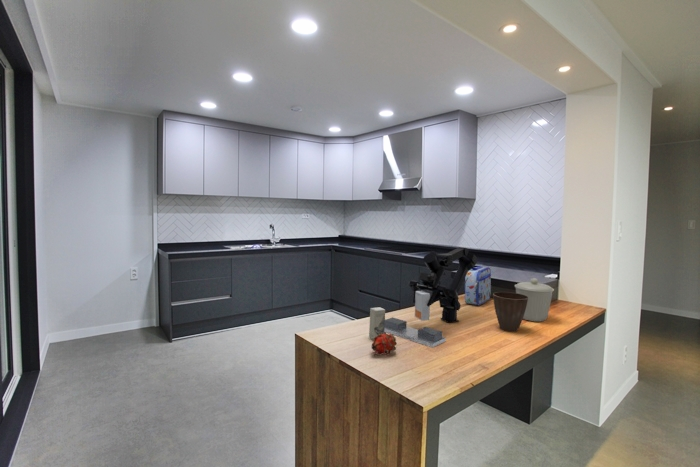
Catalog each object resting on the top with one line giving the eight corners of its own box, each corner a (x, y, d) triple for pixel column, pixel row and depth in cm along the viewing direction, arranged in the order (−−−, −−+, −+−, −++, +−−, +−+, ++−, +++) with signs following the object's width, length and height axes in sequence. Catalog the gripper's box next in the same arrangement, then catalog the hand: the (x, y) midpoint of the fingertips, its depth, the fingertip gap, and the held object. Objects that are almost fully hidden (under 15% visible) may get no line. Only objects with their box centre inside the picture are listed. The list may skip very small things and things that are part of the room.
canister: (543, 326, 171) (546, 283, 170) (506, 317, 185) (508, 277, 184) (557, 319, 183) (560, 279, 182) (521, 311, 197) (523, 273, 195)
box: (374, 341, 147) (374, 310, 147) (368, 337, 151) (369, 307, 150) (384, 339, 150) (385, 309, 149) (379, 336, 154) (380, 306, 153)
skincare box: (414, 317, 162) (415, 291, 161) (422, 316, 164) (423, 290, 163) (421, 321, 157) (422, 294, 156) (429, 320, 158) (430, 293, 157)
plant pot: (484, 326, 170) (486, 293, 169) (505, 322, 177) (506, 290, 176) (512, 336, 157) (514, 300, 156) (533, 331, 164) (535, 297, 163)
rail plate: (393, 325, 168) (394, 316, 168) (445, 341, 149) (446, 330, 149) (380, 330, 161) (380, 320, 161) (432, 347, 142) (433, 336, 142)
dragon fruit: (397, 354, 139) (374, 366, 131) (383, 336, 143) (361, 347, 136) (405, 341, 134) (383, 353, 126) (391, 323, 138) (368, 334, 131)
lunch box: (479, 308, 201) (481, 269, 200) (461, 305, 207) (463, 267, 206) (492, 299, 224) (493, 264, 222) (475, 296, 230) (476, 262, 228)
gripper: (411, 263, 168) (396, 290, 161) (447, 268, 155) (432, 297, 148) (420, 277, 174) (406, 304, 167) (455, 283, 161) (441, 312, 154)
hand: (420, 304), depth 159 cm, fingers closed on skincare box, 7 cm apart
